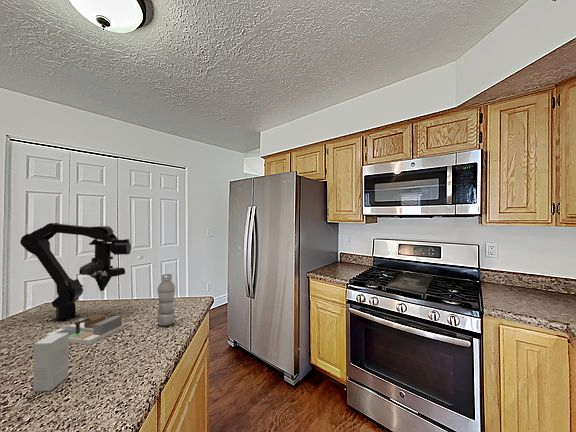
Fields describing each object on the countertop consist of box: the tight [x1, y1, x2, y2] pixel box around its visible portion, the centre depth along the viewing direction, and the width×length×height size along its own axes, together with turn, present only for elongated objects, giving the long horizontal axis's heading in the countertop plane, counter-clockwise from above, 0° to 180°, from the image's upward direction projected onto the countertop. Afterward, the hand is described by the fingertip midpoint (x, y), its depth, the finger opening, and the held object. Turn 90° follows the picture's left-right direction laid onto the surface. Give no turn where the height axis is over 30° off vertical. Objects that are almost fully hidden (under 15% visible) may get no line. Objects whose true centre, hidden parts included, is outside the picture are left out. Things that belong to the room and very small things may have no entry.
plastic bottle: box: [156, 273, 176, 327], centre depth 106 cm, size 6×7×20 cm
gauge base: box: [45, 315, 125, 346], centre depth 97 cm, size 19×14×5 cm
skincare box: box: [32, 333, 70, 393], centre depth 67 cm, size 6×4×12 cm
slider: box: [73, 313, 107, 334], centre depth 96 cm, size 4×10×4 cm, turn 167°
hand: (102, 290), depth 114 cm, fingers closed
